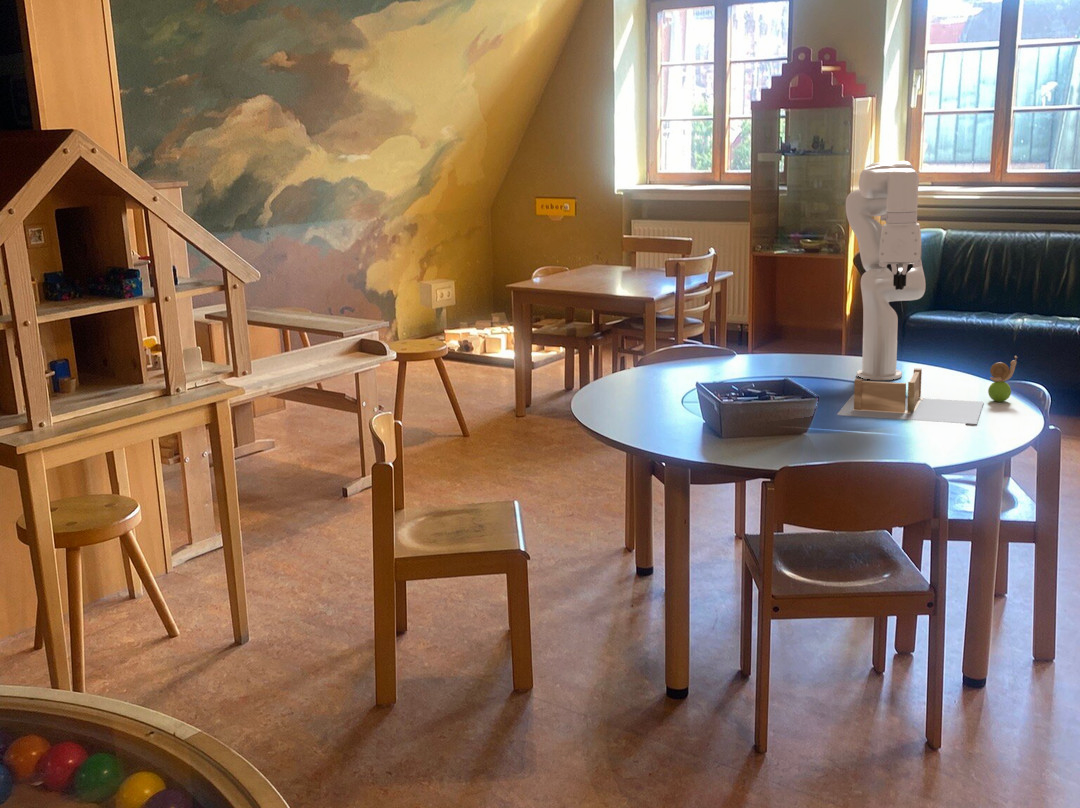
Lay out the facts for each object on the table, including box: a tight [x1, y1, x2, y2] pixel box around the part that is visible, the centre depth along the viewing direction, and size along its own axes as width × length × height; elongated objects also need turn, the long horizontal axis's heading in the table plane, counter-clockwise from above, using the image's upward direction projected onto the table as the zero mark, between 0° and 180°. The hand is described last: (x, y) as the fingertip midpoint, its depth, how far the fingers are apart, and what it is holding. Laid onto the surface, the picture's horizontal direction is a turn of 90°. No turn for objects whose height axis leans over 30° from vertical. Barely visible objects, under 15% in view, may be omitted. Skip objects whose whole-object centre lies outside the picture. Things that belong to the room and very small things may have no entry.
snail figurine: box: [987, 355, 1018, 403], centre depth 266 cm, size 5×6×12 cm
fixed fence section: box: [853, 378, 907, 412], centre depth 263 cm, size 2×12×8 cm, turn 63°
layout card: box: [836, 394, 984, 426], centre depth 264 cm, size 22×33×1 cm, turn 63°
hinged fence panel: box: [907, 367, 923, 412], centre depth 266 cm, size 2×17×7 cm, turn 155°
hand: (899, 288), depth 271 cm, fingers closed
